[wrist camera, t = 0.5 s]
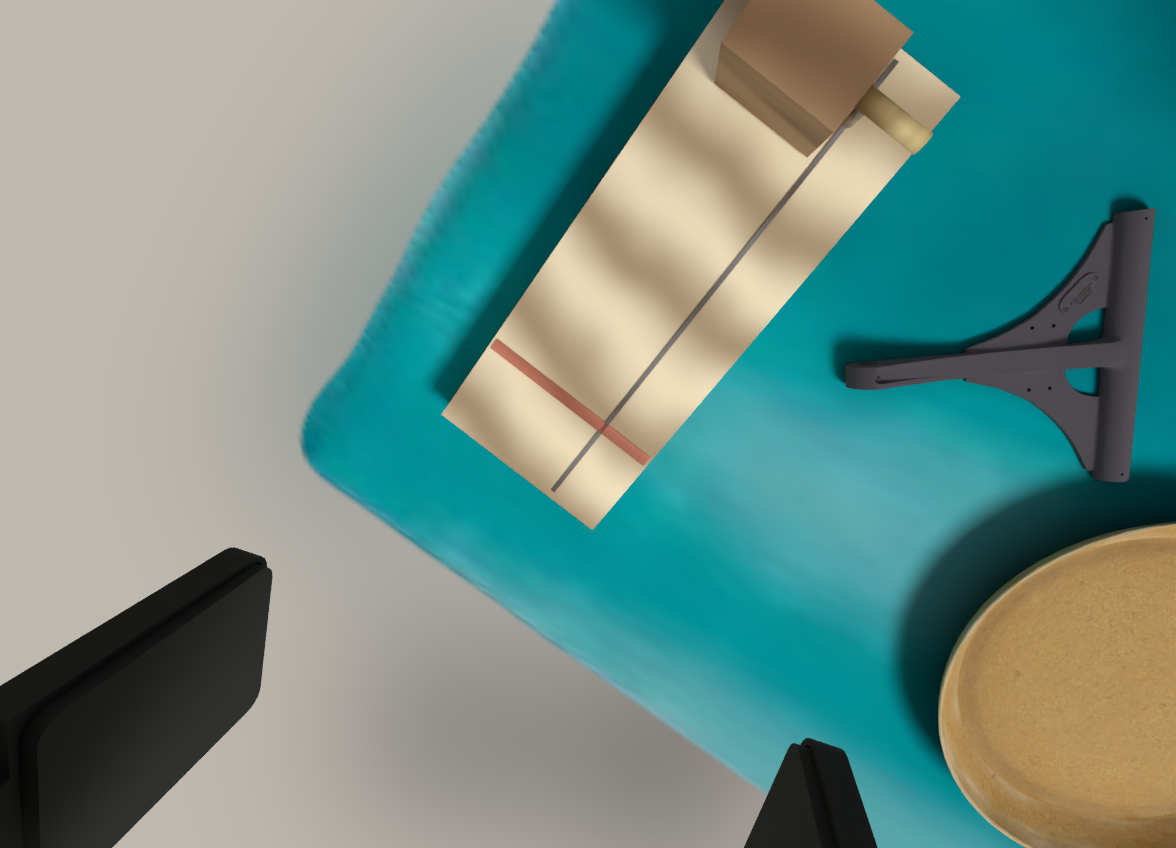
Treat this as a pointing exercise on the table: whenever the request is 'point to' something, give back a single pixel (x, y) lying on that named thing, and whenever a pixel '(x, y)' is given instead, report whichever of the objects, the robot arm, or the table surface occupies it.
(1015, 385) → the bracket
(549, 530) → the table surface
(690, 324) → the board
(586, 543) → the table surface
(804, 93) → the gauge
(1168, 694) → the plant saucer
